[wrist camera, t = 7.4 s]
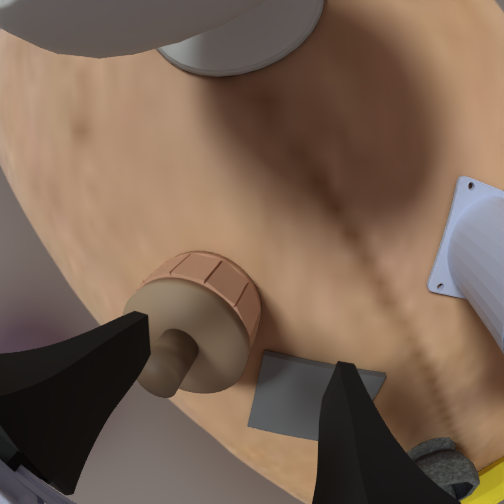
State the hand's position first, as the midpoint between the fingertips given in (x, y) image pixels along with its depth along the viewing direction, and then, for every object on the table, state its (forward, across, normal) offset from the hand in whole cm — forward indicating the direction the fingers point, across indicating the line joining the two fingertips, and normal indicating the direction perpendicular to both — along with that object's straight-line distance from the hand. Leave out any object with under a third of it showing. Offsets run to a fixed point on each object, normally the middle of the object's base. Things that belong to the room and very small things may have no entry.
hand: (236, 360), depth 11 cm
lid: (+6, +4, +5) cm, 9 cm away
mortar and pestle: (+10, -22, +20) cm, 32 cm away
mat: (+10, -6, +13) cm, 17 cm away
